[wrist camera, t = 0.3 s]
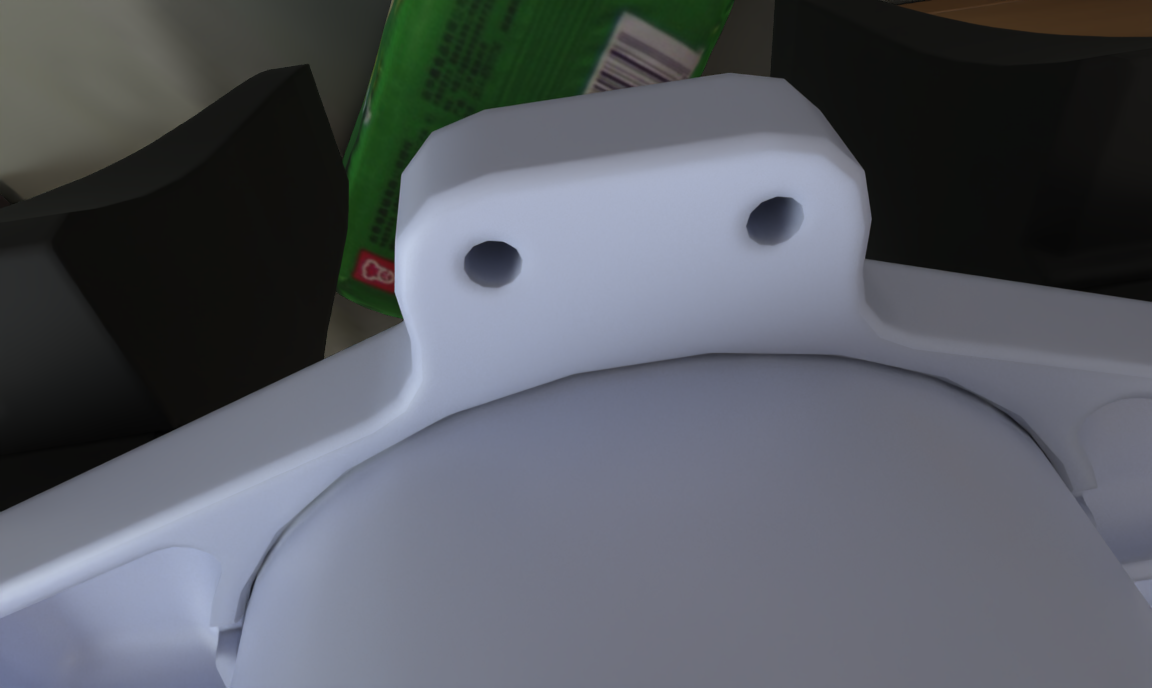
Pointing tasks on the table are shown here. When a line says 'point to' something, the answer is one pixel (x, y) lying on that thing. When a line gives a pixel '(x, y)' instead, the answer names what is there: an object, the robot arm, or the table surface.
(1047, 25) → the cabinet
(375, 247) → the snack package
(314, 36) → the table surface
